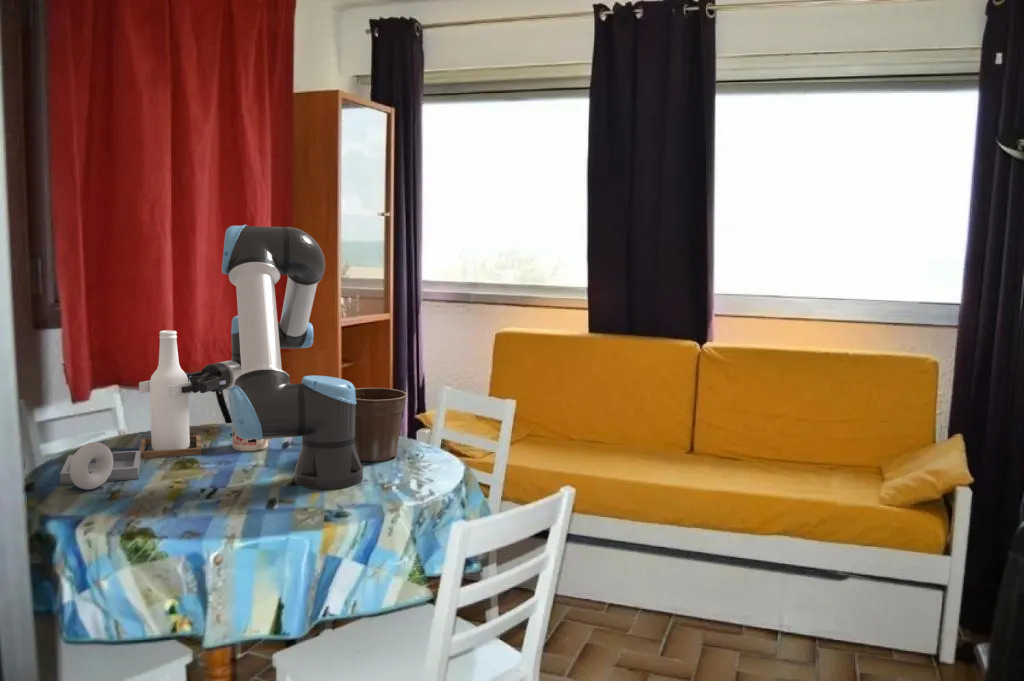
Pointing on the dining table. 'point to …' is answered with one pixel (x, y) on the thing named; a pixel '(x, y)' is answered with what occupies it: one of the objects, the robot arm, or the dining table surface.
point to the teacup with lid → (248, 443)
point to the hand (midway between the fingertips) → (155, 389)
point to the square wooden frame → (170, 452)
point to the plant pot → (378, 422)
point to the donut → (82, 461)
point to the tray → (123, 467)
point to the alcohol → (168, 399)
